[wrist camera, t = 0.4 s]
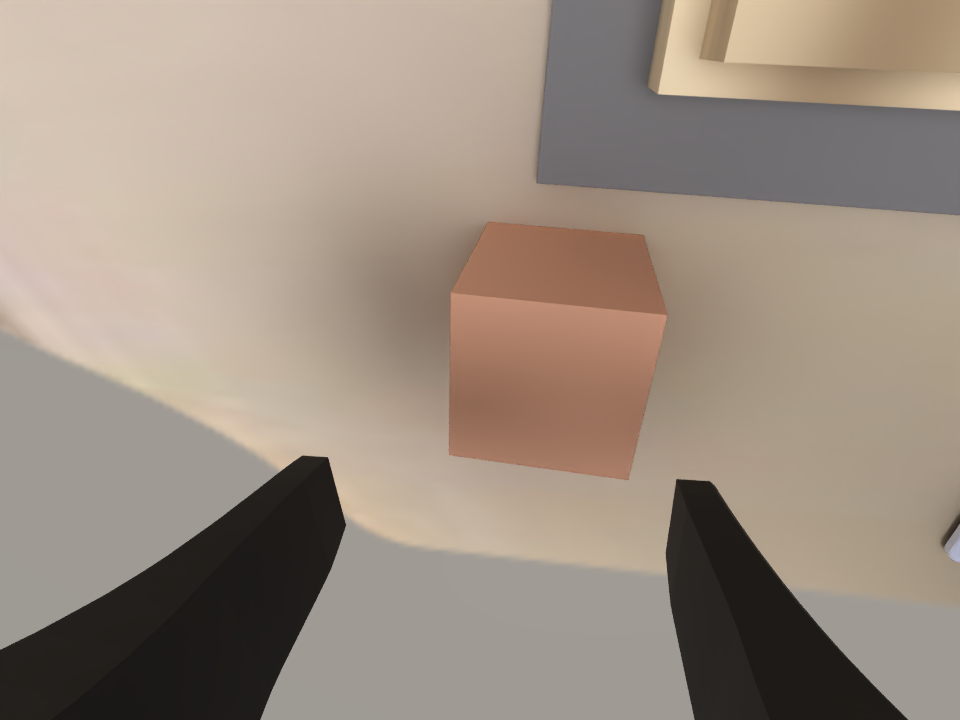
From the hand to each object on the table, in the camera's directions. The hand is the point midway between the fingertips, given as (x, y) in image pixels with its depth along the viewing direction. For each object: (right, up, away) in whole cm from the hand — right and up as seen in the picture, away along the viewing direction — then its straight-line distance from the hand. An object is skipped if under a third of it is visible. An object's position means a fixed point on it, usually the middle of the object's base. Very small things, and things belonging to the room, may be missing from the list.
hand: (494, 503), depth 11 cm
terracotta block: (+2, +5, +8) cm, 10 cm away
